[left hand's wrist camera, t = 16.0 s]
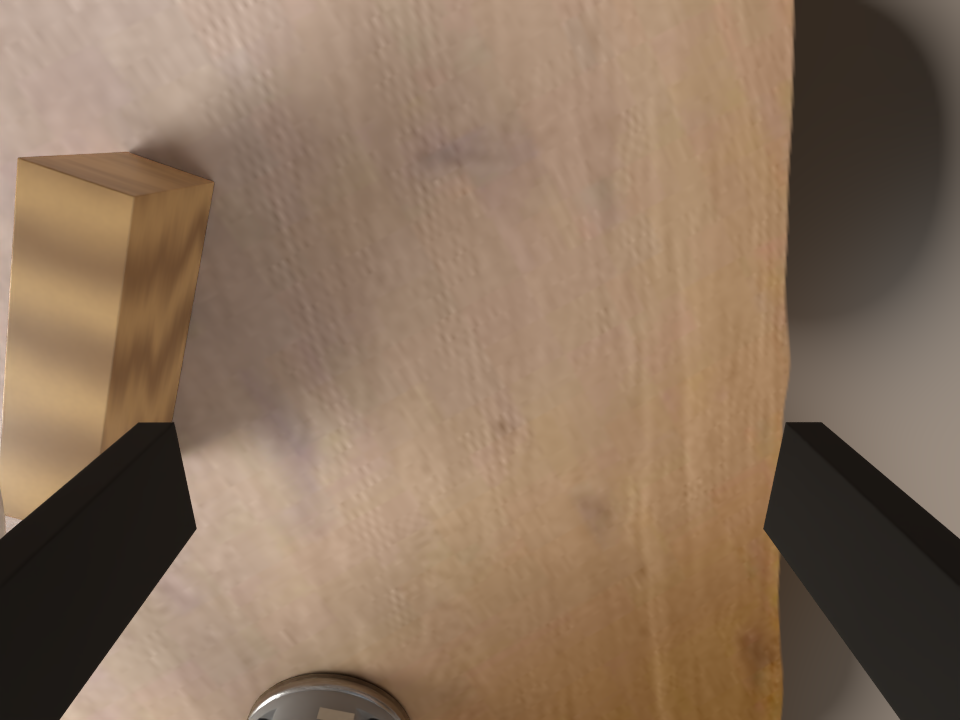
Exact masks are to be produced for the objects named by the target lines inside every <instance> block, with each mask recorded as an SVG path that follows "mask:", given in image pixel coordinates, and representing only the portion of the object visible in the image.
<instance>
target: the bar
mask: <svg viewBox="0 0 960 720" xmlns="http://www.w3.org/2000/svg"><path fill="white" fill-rule="evenodd" d="M213 188H214V182H213V181H210V180H207V179H204V178H202V177H199V176H196V175H193V174H190V173H187V172H184V171H181V170H178V169H175V168H172V167H170V166H167V165H164V164H161V163H158V162H155V161H152V160H149V159H146V158H143V157H141V156H138V155H135V154H132V153H129V152H116V153H97V154H77V155H58V156H39V157H20V158H18V161H17V178H16V194H15V211H14V227H13V244H12V260H11V277H10V293H9V310H8V326H7V343H6V359H5V376H4V392H3V409H2V425H1V442H0V489H1V494H2V499H3V505H4V513H5V516H9V517H13V518H17V519H21V520H23V519H25V518H26V517H27V516H28V515H29V514H30V513H32V512H33V511H34V510H35V509H36V508H38V507H39V506H40V505H41V504H42V503H44V502H45V501H46V500H47V499H48V498H49V497H51V496H52V495H53V494H54V493H55V492H57V491H58V490H59V489H60V488H61V487H62V486H64V485H65V484H66V483H67V482H68V481H70V480H71V479H72V478H73V477H74V476H75V475H77V474H78V473H79V472H80V471H81V470H83V469H84V468H85V467H86V466H87V465H89V464H90V463H91V462H92V461H93V460H94V459H96V458H97V457H98V456H99V455H100V454H102V453H103V452H104V451H105V450H106V449H107V448H109V447H110V446H111V445H112V444H113V443H115V442H116V441H117V440H118V439H119V438H121V437H122V436H123V435H124V434H125V433H126V432H128V431H129V430H130V429H131V428H132V427H134V426H135V425H136V424H137V423H138V422H172V418H173V412H174V407H175V401H176V396H177V390H178V384H179V379H180V373H181V367H182V362H183V356H184V351H185V345H186V339H187V334H188V328H189V322H190V317H191V311H192V306H193V300H194V294H195V289H196V283H197V277H198V272H199V266H200V261H201V255H202V249H203V244H204V238H205V233H206V227H207V221H208V216H209V210H210V204H211V199H212V193H213Z"/></svg>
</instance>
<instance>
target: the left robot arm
mask: <svg viewBox="0 0 960 720" xmlns="http://www.w3.org/2000/svg"><path fill="white" fill-rule="evenodd" d="M196 529H197V528H196V524H195V519H194V514H193V509H192V505H191V500H190V495H189V490H188V486H187V481H186V476H185V471H184V467H183V462H182V457H181V452H180V448H179V443H178V438H177V433H176V429H175V424H174V422H138V423H137V424H136V425H135V426H134V427H132V428H131V429H130V430H129V431H128V432H126V433H125V434H124V435H123V436H122V437H121V438H119V439H118V440H117V441H116V442H115V443H113V444H112V445H111V446H110V447H109V448H107V449H106V450H105V451H104V452H103V453H102V454H100V455H99V456H98V457H97V458H96V459H94V460H93V461H92V462H91V463H90V464H89V465H87V466H86V467H85V468H84V469H83V470H81V471H80V472H79V473H78V474H77V475H75V476H74V477H73V478H72V479H71V480H70V481H68V482H67V483H66V484H65V485H64V486H62V487H61V488H60V489H59V490H58V491H57V492H55V493H54V494H53V495H52V496H51V497H49V498H48V499H47V500H46V501H45V502H44V503H42V504H41V505H40V506H39V507H38V508H36V509H35V510H34V511H33V512H32V513H30V514H29V515H28V516H27V517H26V518H25V519H23V520H22V521H21V522H20V523H19V524H17V525H16V526H15V527H14V528H13V529H12V530H10V531H9V532H8V533H7V534H6V535H4V536H3V537H2V538H1V539H0V720H60V718H61V717H62V716H63V714H64V713H65V711H66V710H67V709H68V707H69V706H70V704H71V703H72V702H73V700H74V699H75V698H76V696H77V695H78V693H79V692H80V691H81V689H82V688H83V686H84V685H85V684H86V682H87V681H88V679H89V678H90V677H91V675H92V674H93V672H94V671H95V670H96V668H97V667H98V665H99V664H100V663H101V661H102V660H103V659H104V657H105V656H106V654H107V653H108V652H109V650H110V649H111V647H112V646H113V645H114V643H115V642H116V640H117V639H118V638H119V636H120V635H121V633H122V632H123V631H124V629H125V628H126V626H127V625H128V624H129V622H130V621H131V620H132V618H133V617H134V615H135V614H136V613H137V611H138V610H139V608H140V607H141V606H142V604H143V603H144V601H145V600H146V599H147V597H148V596H149V594H150V593H151V592H152V590H153V589H154V587H155V586H156V585H157V583H158V582H159V581H160V579H161V578H162V576H163V575H164V574H165V572H166V571H167V569H168V568H169V567H170V565H171V564H172V562H173V561H174V560H175V558H176V557H177V555H178V554H179V553H180V551H181V550H182V548H183V547H184V546H185V544H186V543H187V542H188V540H189V539H190V537H191V536H192V535H193V533H194V532H195V530H196ZM763 529H764V530H765V532H766V533H767V535H768V536H769V537H770V539H771V540H772V542H773V543H774V544H775V546H776V547H777V548H778V550H779V551H780V553H781V554H782V555H783V557H784V558H785V560H786V561H787V562H788V564H789V565H790V567H791V568H792V569H793V571H794V572H795V573H796V575H797V576H798V578H799V579H800V581H801V582H802V583H803V585H804V586H805V587H806V589H807V590H808V592H809V593H810V594H811V596H812V597H813V599H814V600H815V601H816V603H817V604H818V606H819V607H820V608H821V610H822V611H823V612H824V614H825V615H826V617H827V618H828V620H829V621H830V622H831V624H832V625H833V626H834V628H835V629H836V631H837V632H838V633H839V635H840V636H841V638H842V639H843V640H844V642H845V643H846V645H847V646H848V647H849V649H850V650H851V651H852V653H853V654H854V656H855V657H856V659H857V660H858V661H859V663H860V664H861V665H862V667H863V668H864V670H865V671H866V672H867V674H868V675H869V676H870V678H871V679H872V681H873V682H874V683H875V685H876V686H877V688H878V689H879V690H880V692H881V693H882V695H883V696H884V698H885V699H886V700H887V702H888V703H889V704H890V706H891V707H892V709H893V710H894V711H895V713H896V714H897V716H898V717H899V718H900V720H960V539H959V538H958V537H957V536H956V535H954V534H953V533H952V532H951V531H950V530H948V529H947V528H946V527H945V526H944V525H943V524H941V523H940V522H939V521H938V520H937V519H935V518H934V517H933V516H932V515H931V514H930V513H928V512H927V511H926V510H925V509H924V508H922V507H921V506H920V505H919V504H918V503H916V502H915V501H914V500H913V499H912V498H911V497H909V496H908V495H907V494H906V493H905V492H903V491H902V490H901V489H900V488H899V487H898V486H896V485H895V484H894V483H893V482H892V481H890V480H889V479H888V478H887V477H886V476H884V475H883V474H882V473H881V472H880V471H879V470H877V469H876V468H875V467H874V466H873V465H871V464H870V463H869V462H868V461H867V460H865V459H864V458H863V457H862V456H861V455H860V454H858V453H857V452H856V451H855V450H854V449H853V448H851V447H850V446H849V445H848V444H847V443H845V442H844V441H843V440H842V439H841V438H839V437H838V436H837V435H836V434H835V433H833V432H832V431H831V430H830V429H829V428H828V427H826V426H825V425H824V424H823V423H821V422H786V424H785V429H784V433H783V438H782V443H781V448H780V452H779V457H778V462H777V467H776V471H775V476H774V481H773V486H772V490H771V495H770V500H769V505H768V509H767V514H766V519H765V524H764V528H763ZM247 720H409V717H408V715H407V714H406V712H405V711H404V709H403V708H402V706H401V705H400V704H399V703H398V702H397V701H396V700H395V699H394V698H393V697H392V696H390V695H389V694H388V693H386V692H385V691H383V690H382V689H380V688H378V687H376V686H374V685H373V684H370V683H368V682H366V681H363V680H360V679H357V678H353V677H349V676H344V675H338V674H308V675H302V676H297V677H294V678H290V679H287V680H285V681H282V682H280V683H278V684H276V685H274V686H273V687H271V688H270V689H268V690H267V691H266V692H264V693H263V694H262V695H261V696H260V697H259V698H258V700H257V701H256V702H255V704H254V705H253V707H252V709H251V711H250V714H249V716H248V719H247Z"/></svg>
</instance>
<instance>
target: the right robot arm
mask: <svg viewBox="0 0 960 720" xmlns="http://www.w3.org/2000/svg"><path fill="white" fill-rule="evenodd" d="M4 535H5V513H4V505H3V499H2V494H1V489H0V539H1V538H2V537H3V536H4Z"/></svg>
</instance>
